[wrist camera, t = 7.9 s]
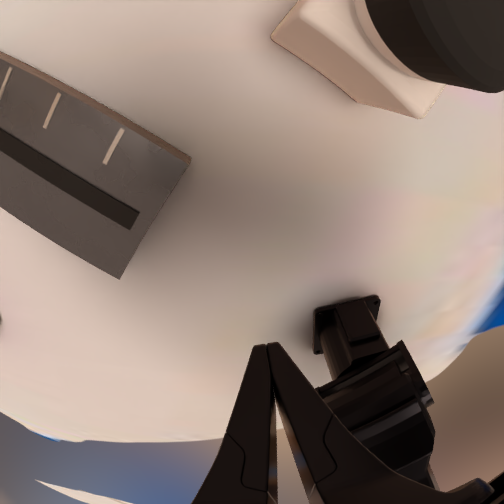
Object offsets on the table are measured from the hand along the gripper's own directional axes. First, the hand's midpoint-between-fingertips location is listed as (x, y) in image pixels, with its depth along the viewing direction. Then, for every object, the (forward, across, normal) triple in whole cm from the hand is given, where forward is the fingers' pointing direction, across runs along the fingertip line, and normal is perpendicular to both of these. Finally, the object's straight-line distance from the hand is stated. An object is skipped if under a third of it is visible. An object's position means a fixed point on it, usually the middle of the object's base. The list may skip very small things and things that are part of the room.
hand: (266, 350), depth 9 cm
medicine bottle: (+12, -8, -11) cm, 18 cm away
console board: (+12, +14, -8) cm, 20 cm away
